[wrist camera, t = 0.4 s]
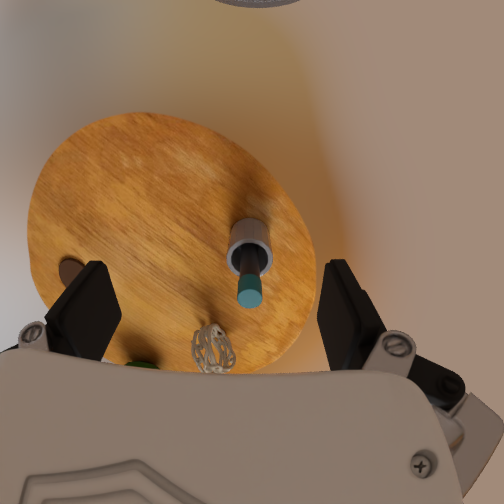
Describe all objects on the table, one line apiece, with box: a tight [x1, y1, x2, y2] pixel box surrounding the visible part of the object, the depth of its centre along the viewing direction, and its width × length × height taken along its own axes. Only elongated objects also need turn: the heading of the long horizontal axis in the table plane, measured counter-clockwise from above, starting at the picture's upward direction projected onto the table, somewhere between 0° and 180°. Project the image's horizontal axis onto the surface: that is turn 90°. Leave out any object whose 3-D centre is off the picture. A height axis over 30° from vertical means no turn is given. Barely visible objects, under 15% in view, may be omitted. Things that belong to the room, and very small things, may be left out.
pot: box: [226, 218, 273, 277], centre depth 33 cm, size 5×5×6 cm
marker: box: [237, 243, 262, 308], centre depth 29 cm, size 2×2×12 cm
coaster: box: [59, 259, 85, 287], centre depth 38 cm, size 7×7×1 cm
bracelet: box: [191, 323, 236, 374], centre depth 40 cm, size 4×8×8 cm, turn 30°
